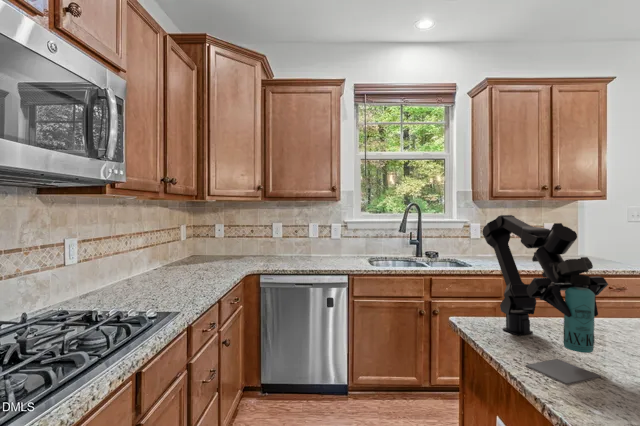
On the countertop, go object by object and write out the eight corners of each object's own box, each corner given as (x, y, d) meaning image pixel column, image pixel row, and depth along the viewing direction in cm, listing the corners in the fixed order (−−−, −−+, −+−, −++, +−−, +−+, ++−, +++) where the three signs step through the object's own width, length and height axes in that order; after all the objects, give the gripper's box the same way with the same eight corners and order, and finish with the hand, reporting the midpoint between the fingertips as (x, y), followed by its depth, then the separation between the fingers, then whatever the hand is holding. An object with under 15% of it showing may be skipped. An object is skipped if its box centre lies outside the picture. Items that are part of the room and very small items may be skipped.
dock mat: (525, 366, 94) (525, 364, 94) (557, 360, 98) (557, 358, 98) (566, 385, 84) (566, 383, 84) (600, 377, 87) (600, 375, 87)
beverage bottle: (557, 349, 96) (558, 272, 96) (583, 349, 96) (584, 272, 96) (573, 359, 89) (574, 276, 90) (601, 359, 89) (602, 277, 89)
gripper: (532, 247, 96) (561, 299, 85) (602, 245, 97) (640, 297, 86) (515, 272, 104) (540, 323, 93) (580, 270, 105) (612, 321, 94)
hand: (583, 316), depth 91 cm, fingers closed on beverage bottle, 6 cm apart
